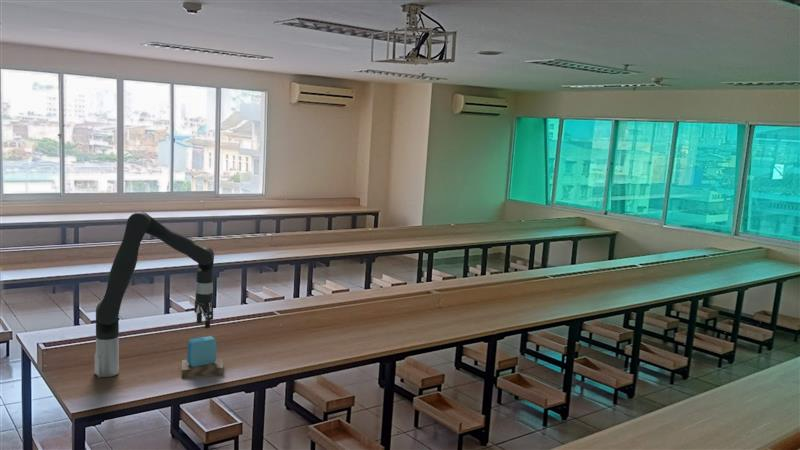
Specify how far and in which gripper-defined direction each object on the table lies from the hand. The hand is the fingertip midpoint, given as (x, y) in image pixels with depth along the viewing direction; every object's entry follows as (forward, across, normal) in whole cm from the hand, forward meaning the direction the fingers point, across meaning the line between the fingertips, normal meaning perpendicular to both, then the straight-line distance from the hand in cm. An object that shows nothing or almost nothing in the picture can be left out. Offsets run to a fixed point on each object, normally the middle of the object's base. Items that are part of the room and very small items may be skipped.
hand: (203, 325), depth 297 cm
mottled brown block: (+22, 0, 0) cm, 23 cm away
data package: (+19, 0, 0) cm, 19 cm away
